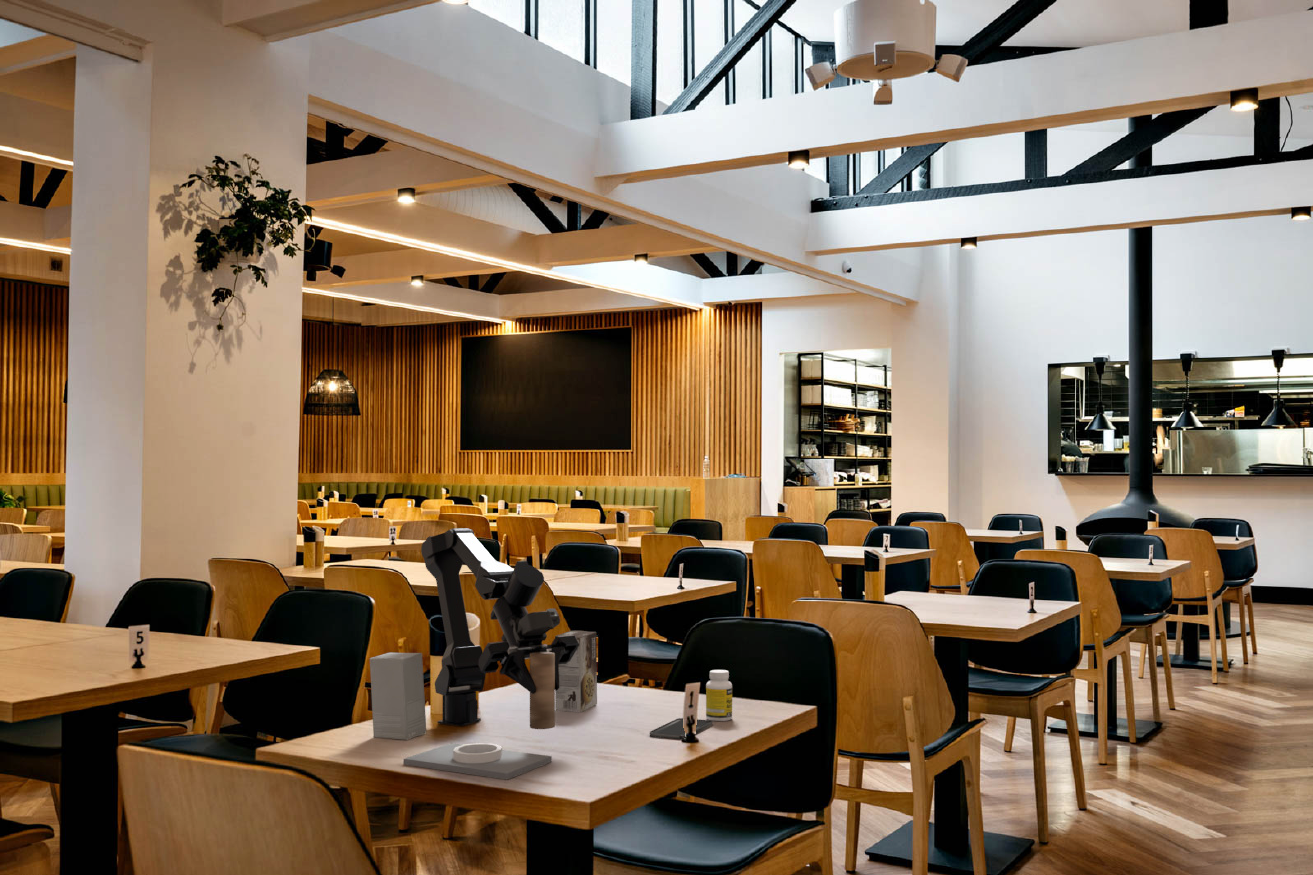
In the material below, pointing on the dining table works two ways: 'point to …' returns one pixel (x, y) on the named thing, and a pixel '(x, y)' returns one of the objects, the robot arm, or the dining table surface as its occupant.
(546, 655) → the walnut pin
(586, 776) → the dining table surface
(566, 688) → the coffee box
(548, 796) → the dining table surface
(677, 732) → the phone
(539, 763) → the board
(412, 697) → the skincare box
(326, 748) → the dining table surface
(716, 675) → the supplement bottle
